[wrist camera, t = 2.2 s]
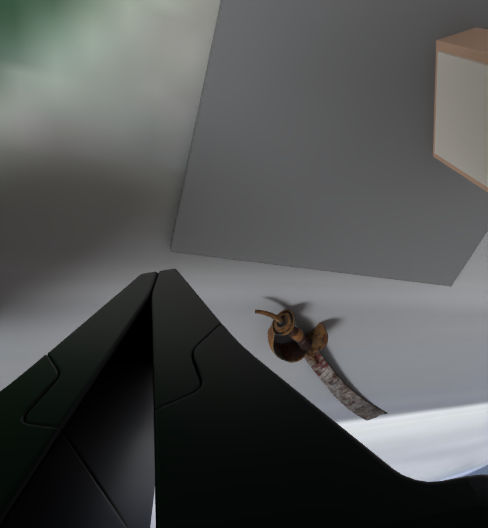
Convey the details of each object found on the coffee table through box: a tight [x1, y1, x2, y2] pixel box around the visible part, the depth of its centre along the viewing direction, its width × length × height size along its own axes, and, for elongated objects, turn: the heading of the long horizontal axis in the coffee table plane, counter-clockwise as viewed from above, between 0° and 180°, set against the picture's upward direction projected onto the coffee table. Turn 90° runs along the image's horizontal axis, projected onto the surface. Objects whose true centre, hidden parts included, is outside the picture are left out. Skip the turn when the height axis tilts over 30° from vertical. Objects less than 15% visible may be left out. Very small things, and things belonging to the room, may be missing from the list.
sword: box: [255, 310, 387, 420], centre depth 34 cm, size 25×4×2 cm, turn 37°
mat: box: [170, 0, 488, 286], centre depth 22 cm, size 18×20×1 cm
